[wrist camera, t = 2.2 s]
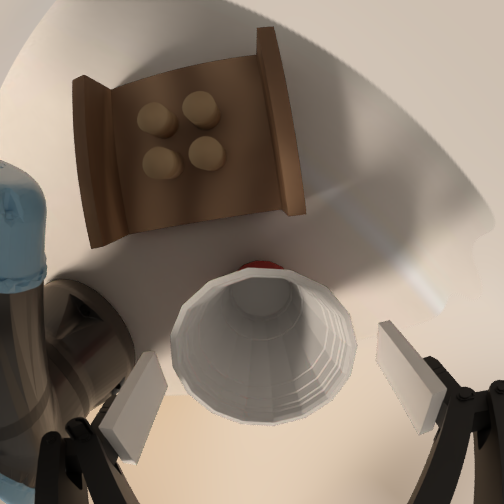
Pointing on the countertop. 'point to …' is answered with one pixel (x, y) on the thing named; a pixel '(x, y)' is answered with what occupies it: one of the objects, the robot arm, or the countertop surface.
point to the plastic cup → (263, 345)
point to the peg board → (187, 145)
